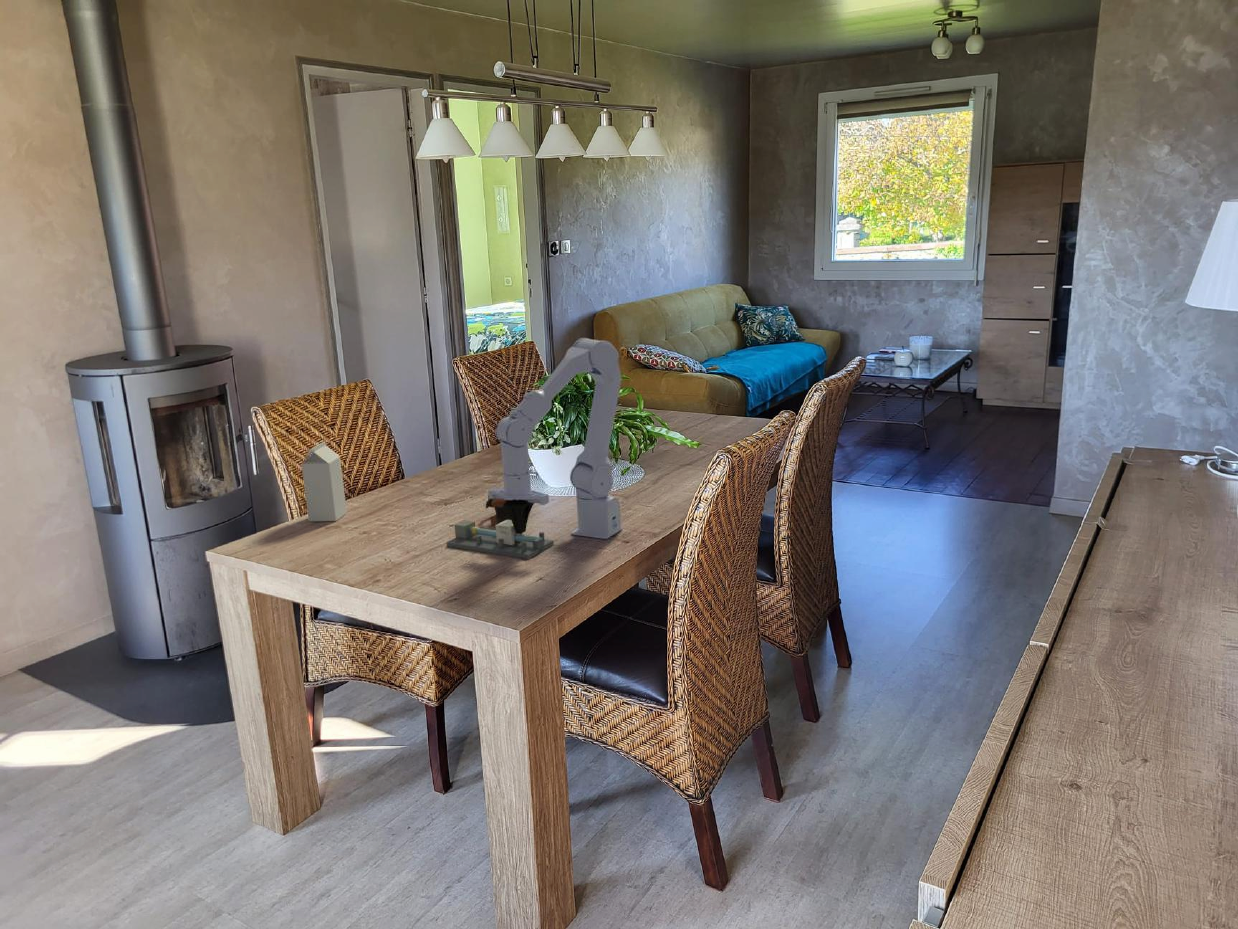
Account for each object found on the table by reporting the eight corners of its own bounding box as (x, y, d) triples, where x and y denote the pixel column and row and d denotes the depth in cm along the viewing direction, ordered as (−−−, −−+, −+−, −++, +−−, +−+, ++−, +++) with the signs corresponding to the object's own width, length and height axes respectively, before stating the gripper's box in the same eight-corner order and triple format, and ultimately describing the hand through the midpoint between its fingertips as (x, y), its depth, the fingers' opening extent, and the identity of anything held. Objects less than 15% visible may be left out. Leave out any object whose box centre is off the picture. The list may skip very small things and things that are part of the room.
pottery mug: (478, 527, 219) (476, 494, 222) (499, 533, 228) (497, 501, 230) (522, 518, 215) (519, 484, 217) (542, 524, 223) (539, 492, 225)
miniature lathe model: (553, 544, 203) (552, 527, 202) (528, 559, 195) (526, 541, 194) (474, 532, 214) (472, 516, 213) (447, 546, 205) (445, 528, 204)
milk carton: (347, 513, 234) (338, 440, 229) (336, 521, 227) (326, 447, 222) (320, 513, 235) (311, 441, 230) (308, 522, 228) (298, 448, 223)
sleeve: (522, 539, 204) (521, 521, 203) (511, 545, 200) (510, 527, 199) (508, 537, 205) (506, 519, 204) (496, 542, 202) (495, 525, 201)
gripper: (478, 474, 197) (483, 533, 201) (534, 480, 190) (538, 542, 194) (497, 466, 203) (501, 524, 207) (552, 471, 196) (556, 532, 200)
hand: (520, 532), depth 201 cm, fingers closed
